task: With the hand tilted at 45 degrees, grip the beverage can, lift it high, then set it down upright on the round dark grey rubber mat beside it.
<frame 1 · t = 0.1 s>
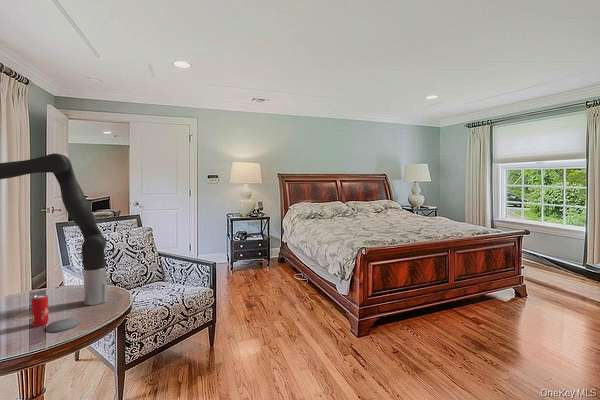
beverage can: (40, 324, 130), on the table
rubber mat: (63, 326, 129), on the table
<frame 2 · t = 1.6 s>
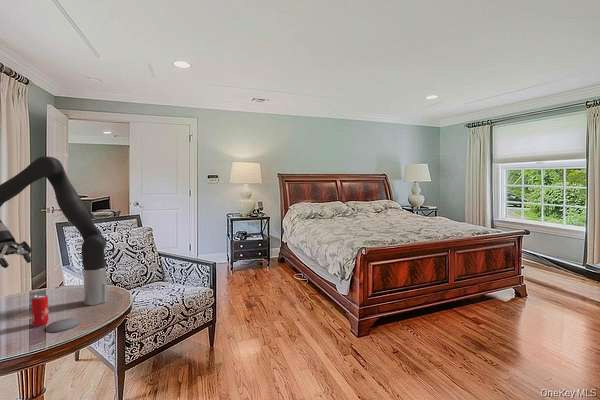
hand: (18, 264, 131), 25 cm above the table, tool tilted 45°, fingers open, 8 cm apart
nothing on the table moved.
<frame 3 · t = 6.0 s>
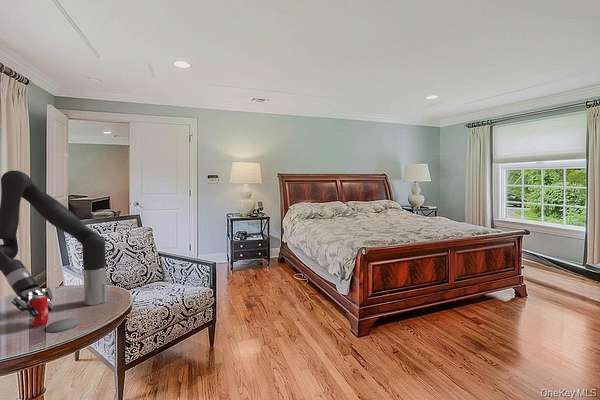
hand: (43, 312, 129), 5 cm above the table, tool tilted 45°, fingers closed on beverage can, 5 cm apart
beverage can: (40, 324, 130), on the table, touching gripper
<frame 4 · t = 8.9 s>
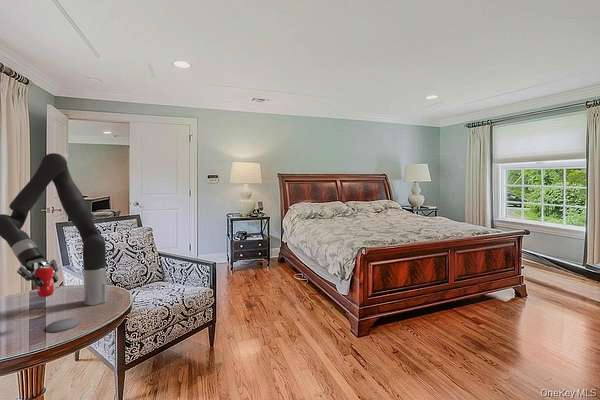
hand: (49, 283, 128), 18 cm above the table, tool tilted 45°, fingers closed on beverage can, 5 cm apart
beverage can: (46, 295, 129), point 12 cm above the table, touching gripper
when the fingers open (7 cm above the table, at t = 11.8 s): beverage can drops 1 cm, resting on rubber mat.
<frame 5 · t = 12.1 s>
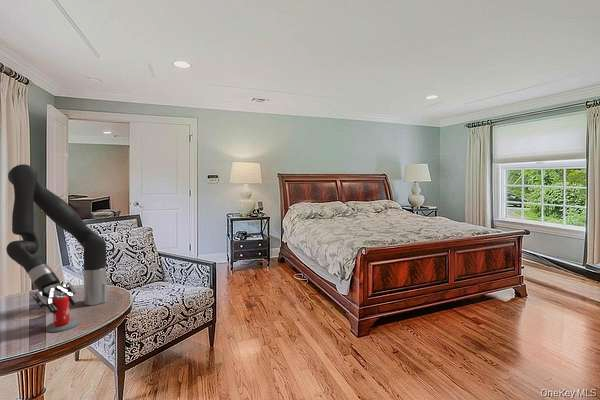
hand: (65, 308, 128), 8 cm above the table, tool tilted 45°, fingers open, 7 cm apart
beverage can: (61, 324, 128), point 1 cm above the table, touching rubber mat
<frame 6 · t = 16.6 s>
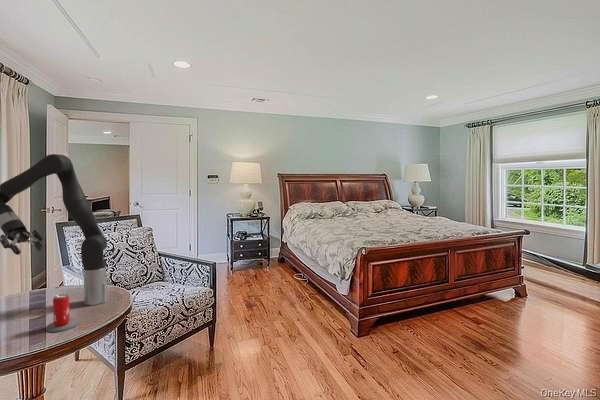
hand: (30, 251, 137), 29 cm above the table, tool tilted 45°, fingers open, 8 cm apart
nothing on the table moved.
at the end: beverage can inside the target area on the rubber mat (0.4 cm from its centre), point 0.6 cm above the rubber mat's base; beverage can tilted 0°; the gripper is holding nothing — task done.
